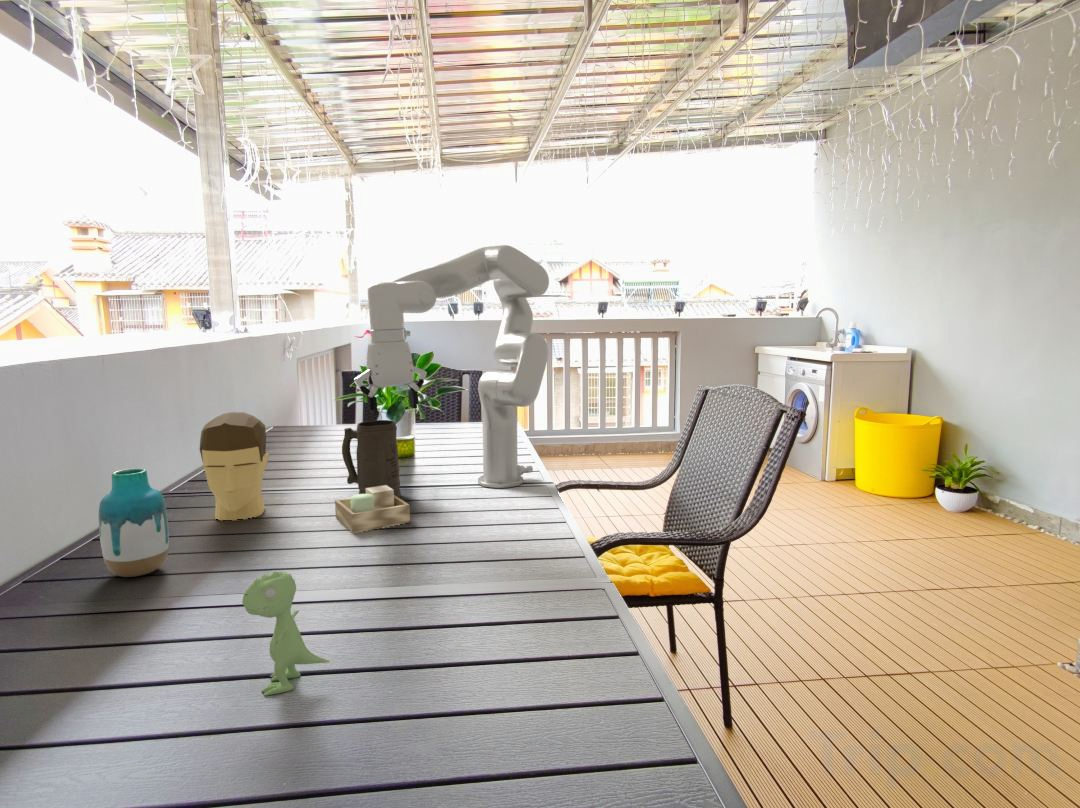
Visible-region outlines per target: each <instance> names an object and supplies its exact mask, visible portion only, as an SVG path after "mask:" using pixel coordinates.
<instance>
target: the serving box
mask: <svg viewBox="0 0 1080 808" xmlns="http://www.w3.org/2000/svg"><path fill="white" fill-rule="evenodd" d="M334 504H335V505H334V507H335V508H334V509H335V519H336V518H337V519H336V520H337V521H338V520H339V521H340V522H341V523H340V522H339V521H338V522H339V523H340V524H342V526H344V527H345V528H346V527H347V528H348V529H349V530H350V531H351V532H350V531H349V530H348V529H347V528H346V529H347V530H348V531H349V532H350V533H351V534H354V533H356V534H359V533H358V532H361V533H364V532H363V531H366V532H368V531H367V530H372V529H377V530H379V529H378V528H382V529H384V528H383V527H387V528H390V527H389V526H393V527H395V526H394V525H398V526H401V525H400V524H403V525H405V524H404V523H409V522H410V523H411V507H410V506H411V505H410V504H409V503H407V502H406V501H405V500H403V499H401V497H399V498H398V497H397V496H395V495H394V507H388V508H382V509H376V510H371V511H365V512H359V513H354V512H352V511H351V499H350V497H348V498H347V497H346V498H343V499H342V498H339V499H335V500H334ZM410 523H409V524H410ZM372 531H373V530H372ZM354 535H355V534H354Z"/></svg>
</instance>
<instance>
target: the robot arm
mask: <svg viewBox="0 0 1080 808" xmlns="http://www.w3.org/2000/svg"><path fill="white" fill-rule="evenodd" d="M549 278H550V277H549V274H548V272H547V270H546V269H545V268H544V267H543V266H542V265H541V264H540V263H539V262H537V261H536V260H534V259H532V258H531V257H530V256H528V255H527V254H526V253H524V252H522V251H521V250H519V249H518V248H515V247H513V246H511V245H507V244H506V245H505V244H503V245H494V246H493V245H492V246H483V247H480V248H476V249H474V250H473V251H470V252H468V253H465V254H463V255H460V256H458V257H456V258H453V259H452V260H449V261H446V262H443V263H439V264H435V265H433V266H431V267H427V268H424V269H421V270H418V271H416V272H413V273H410V274H407V275H405V276H402V277H400V278H397V279H395V280H392V281H391V282H389V281H388V282H383V281H382V282H374V283H370V284H369V285H368V287H367V299H368V310H369V311H368V312H369V325H370V334H371V335H370V336H371V343H369V344H368V345H367V353H366V370H365V371H364V372H362V373H361V374H359V375H357V376H355V377H354V378H353V382H354V383H355V385H356V386H357V388H358V390H359V391H360V392H361V393H362V394H364V395H365V396H366V399H367V401H366V402H367V409H368V411H370V413H371V414H373V415H377V414H378V411H379V410H378V402H377V401H378V400H377V396H375V395H376V393H377V391H378V390H379V389H380V388H381V389H382V388H391V387H399V386H406V387H408V388H409V390H408V394H407V395H408V406H409V408H411V409H417V408H418V404H419V396H418V394H419V393H418V392H420V391H419V390H420V388H421V386H423V385H424V383H425V379H426V377H427V374H428V372H427V371H426V370H424V369H421V368H419V367H417V366H414V363H413V362H414V361H413V358H412V352H411V349H410V344H409V342H408V341H406V340H407V337H410V336H411V331H410V330H406V328H405V318H404V314H423V313H426V312H429V311H430V310H431V309H433V307H434V306H435V305H436V303H437V299H439V298H448V297H449V298H450V297H454V296H458V295H463V294H464V293H466V292H468V291H470V290H472V289H474V288H476V287H478V286H479V287H480V286H481V285H482V284H485V283H487V282H489V281H493V288H494V291H495V292H496V294H497V296H498V299H499V301H500V303H501V306H502V307H501V308H502V317H501V322H500V324H499V325H500V326H499V329H498V332H497V336H496V340H495V344H494V347H493V358H494V361H495V362H496V363H497V364H499V365H502V366H505V367H513V368H516V370H515V369H514V370H512V369H501V368H492V369H490V370H487V371H485V372H484V373H483V374H482V375H481V376H480V378H479V380H478V385H477V389H478V392H477V393H478V396H479V400H480V401H479V402H480V406H481V415H482V462H483V463H482V465H483V466H482V467H483V468H482V469H483V475H481V476H479V477H478V479H477V483H478V485H480V486H483V487H485V488H493V489H494V488H495V489H497V488H498V489H505V488H513V487H517V486H519V485H520V486H521V485H522V484H523V483H524V477H523V475H524V474H529V473H533V472H534V468H533V466H532V465H526V466H524V465H520V464H518V417H517V414H516V410H515V408H514V407H521V408H525V407H530V406H531V405H532V404H533V403H534V402H535V401H536V400H537V397H538V395H539V392H540V388H541V385H542V382H543V378H544V374H545V371H546V367H547V363H548V359H549V358H548V357H549V347H548V342H547V340H546V339H545V337H544V336H542V335H541V334H539V333H538V332H537V333H536V332H531V331H532V326H533V322H534V320H533V319H534V315H533V310H532V307H531V305H530V304H529V302H528V300H527V298H538V297H541V296H543V295H544V294H545V293H546V292H547V291H548V288H549V287H550V279H549ZM415 373H416V374H417V375H418V377H417V379H416V380H415ZM365 380H366V381H367V384H368V387H366V386H365V384H364V383H363V382H364V381H365Z"/></svg>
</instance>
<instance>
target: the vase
mask: <svg viewBox="0 0 1080 808" xmlns="http://www.w3.org/2000/svg"><path fill="white" fill-rule="evenodd" d="M168 521H169V520H168V513H167V506H166V501H165V498H164V495H163V494H162V492H161V491H160V490H158V489H156V488H153V487H151V485H150V483H149V477H148V472H147V469H145V468H126V469H121V470H117V471H113V472H112V473H111V490H110V492H109V493H108V494H106V495H104V496H103V497H102V499H101V500H100V502H99V507H98V531H99V540H100V548H101V552H102V557H103V561H104V564H105V566H106V568H107V570H108V571H109V572H111V573H112V574H113V575H115V576H118V577H124V578H129V577H130V578H133V577H140V576H144V575H148V574H150V573H153V572H155V571H157V570H159V569H160V568H161V567H162V566H163V565H164V564H165V562H166V560H167V558H168V555H169V548H170V545H169V544H170V543H169V540H170V537H169V535H170V534H169V533H170V532H169V522H168Z"/></svg>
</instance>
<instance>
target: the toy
mask: <svg viewBox="0 0 1080 808" xmlns="http://www.w3.org/2000/svg"><path fill="white" fill-rule="evenodd" d="M296 584H297V583H296V580H295V579H294V578H293V575H292V574H291V573H288V572H285V571H275V572H272V573H265V574H264V575H262V576H261V577H256V578H255V580H254V581H253V583H252V584H250V585H249V586H248V588H247V589H245V591H244V592H243V596H242V605H243V606H244V608H245V611H246V612H247V613H248V614H250V615H255V616H259V617H263V618H270V619H272V618H276V620H275V626H274V630H273V635H272V637H271V639H270V641H269V654H270V658H271V660H272V661H273V662H274V666H273V667H274V668H273V670H274V672H273V673H271V675H270V676H269V677H270V678H271V679H270V681H271V682H272V681H273V682H272V683H269V684H268V685H266V686H265V687H264V688H262V689H261V692H262V693H263V696H265V697H266V696H272V695H276V694H277V695H278V694H282V693H287V692H290V691H292V690H294V689H295V687H294V685H293V684H292V683H291V682H289V681H290V679H296V678H300V677H301V673H300V671H298V670H297V669H296V666H295V665H312V664H325V663H326V664H327V663H330V661H331V660H327V659H325V658H323V657H321V656H318V655H317V654H314V653H313V652H311V651H310V650H309V649H308V648H307V645H306V644H305V641H304V640H303V637H302V634H301V633H300V630H299V629H298V628H299V627H298V625H297V623H296V620H295V617H296V616H297V615H298V613H300V610H299V609H298V610H294V611H293V613H292V612H291V611H292V606H293V602H294V598H295V594H296V591H297V585H296ZM274 681H276V682H274Z"/></svg>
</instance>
